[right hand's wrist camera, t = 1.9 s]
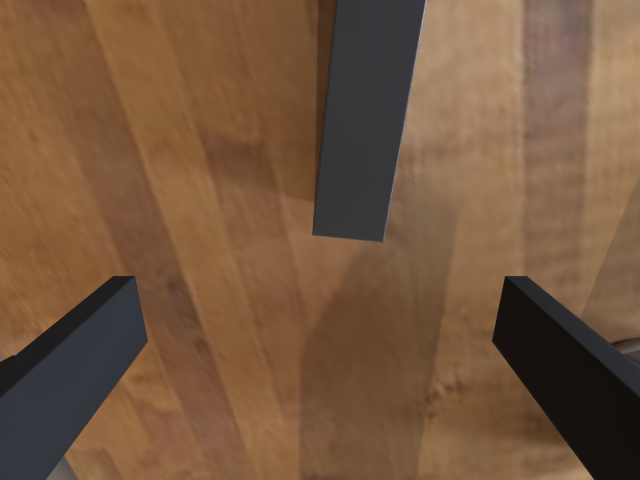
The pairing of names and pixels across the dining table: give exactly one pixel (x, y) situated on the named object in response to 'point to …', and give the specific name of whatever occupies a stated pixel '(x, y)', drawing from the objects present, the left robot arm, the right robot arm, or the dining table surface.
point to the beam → (365, 114)
